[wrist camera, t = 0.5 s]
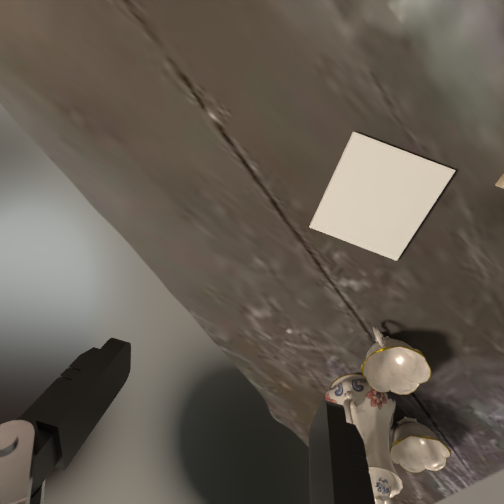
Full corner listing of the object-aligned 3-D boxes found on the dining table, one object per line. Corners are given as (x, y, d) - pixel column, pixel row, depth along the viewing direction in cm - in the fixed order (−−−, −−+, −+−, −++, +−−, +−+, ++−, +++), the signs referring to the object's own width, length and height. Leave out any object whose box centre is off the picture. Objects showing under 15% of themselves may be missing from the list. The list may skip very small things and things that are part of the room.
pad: (352, 131, 32) (353, 131, 31) (453, 169, 32) (455, 170, 31) (309, 225, 37) (309, 227, 36) (395, 258, 37) (396, 260, 36)
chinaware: (444, 428, 49) (521, 559, 34) (351, 452, 53) (384, 579, 38) (394, 302, 41) (467, 398, 26) (290, 340, 45) (298, 443, 29)
